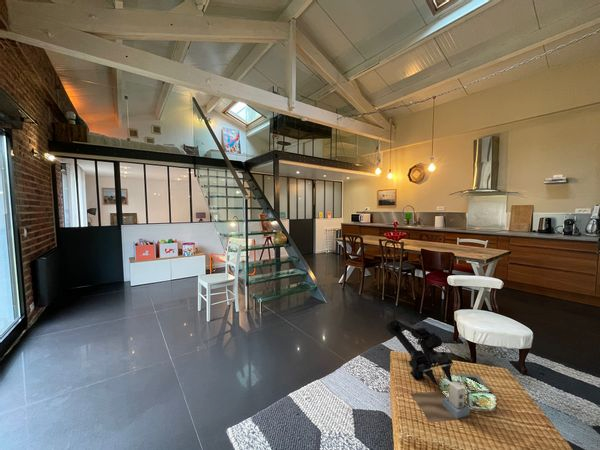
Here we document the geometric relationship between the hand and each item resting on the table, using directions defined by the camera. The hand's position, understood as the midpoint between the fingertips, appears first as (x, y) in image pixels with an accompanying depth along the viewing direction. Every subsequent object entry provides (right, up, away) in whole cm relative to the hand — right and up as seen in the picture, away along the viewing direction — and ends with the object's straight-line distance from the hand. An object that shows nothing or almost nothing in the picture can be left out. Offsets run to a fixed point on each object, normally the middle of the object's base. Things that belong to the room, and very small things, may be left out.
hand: (444, 383), depth 124 cm
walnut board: (-4, -10, -3) cm, 11 cm away
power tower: (+2, -9, -6) cm, 11 cm away
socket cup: (+2, -9, -6) cm, 11 cm away
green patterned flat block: (+24, -9, +11) cm, 28 cm away
